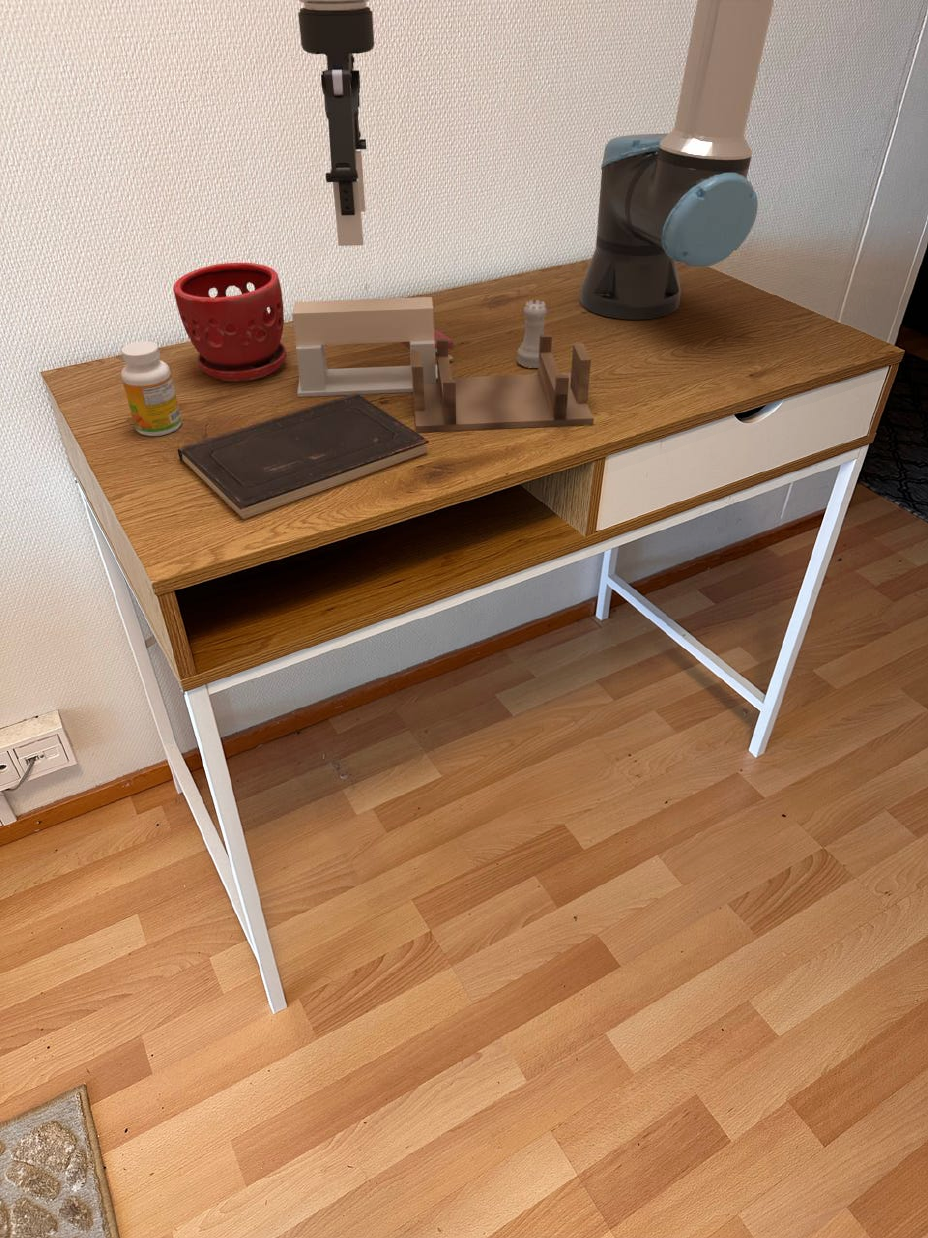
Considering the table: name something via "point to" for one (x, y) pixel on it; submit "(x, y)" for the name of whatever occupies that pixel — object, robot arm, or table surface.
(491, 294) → the table surface
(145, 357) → the supplement bottle
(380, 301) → the beige rectangular bar
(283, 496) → the hardcover book
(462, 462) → the table surface
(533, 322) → the rook chess piece
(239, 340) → the plant pot
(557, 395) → the rack
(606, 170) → the robot arm
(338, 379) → the stand
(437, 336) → the popsicle
